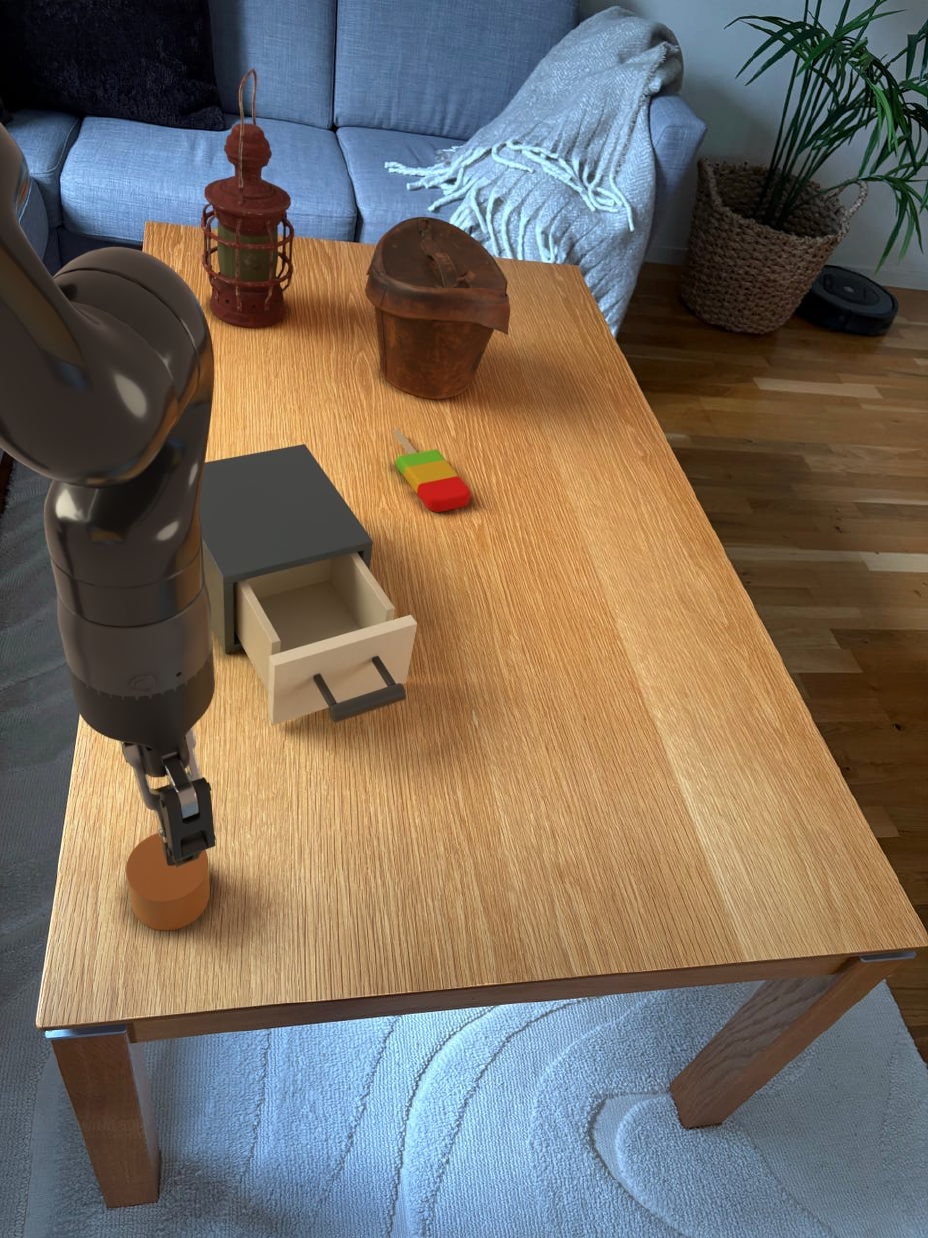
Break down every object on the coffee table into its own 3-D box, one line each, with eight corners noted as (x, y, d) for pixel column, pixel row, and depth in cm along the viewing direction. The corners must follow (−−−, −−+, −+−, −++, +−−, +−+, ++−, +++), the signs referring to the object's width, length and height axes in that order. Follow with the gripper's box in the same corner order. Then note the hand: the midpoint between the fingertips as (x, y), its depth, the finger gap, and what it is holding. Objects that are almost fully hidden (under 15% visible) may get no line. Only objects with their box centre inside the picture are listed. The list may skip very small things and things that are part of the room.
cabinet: (364, 614, 92) (373, 541, 85) (225, 654, 86) (223, 577, 79) (300, 517, 101) (304, 443, 94) (170, 546, 94) (164, 469, 87)
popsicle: (431, 515, 105) (433, 502, 103) (374, 440, 113) (375, 427, 112) (472, 506, 107) (475, 493, 106) (414, 433, 116) (416, 420, 114)
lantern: (281, 338, 126) (288, 98, 105) (192, 321, 125) (180, 76, 104) (299, 297, 135) (309, 68, 114) (216, 281, 134) (210, 48, 113)
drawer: (431, 721, 83) (445, 663, 77) (295, 769, 77) (299, 710, 71) (340, 579, 94) (345, 520, 88) (214, 612, 88) (212, 550, 82)
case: (454, 433, 117) (479, 301, 104) (328, 369, 122) (337, 236, 110) (521, 380, 129) (551, 255, 116) (403, 324, 134) (419, 199, 122)
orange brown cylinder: (144, 943, 66) (139, 914, 63) (121, 878, 69) (115, 848, 66) (220, 912, 68) (219, 882, 65) (195, 850, 72) (192, 820, 68)
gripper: (257, 713, 47) (256, 870, 59) (165, 538, 55) (181, 707, 66) (106, 763, 44) (137, 920, 55) (31, 569, 51) (72, 742, 63)
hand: (161, 804), depth 61 cm, fingers open, 8 cm apart
